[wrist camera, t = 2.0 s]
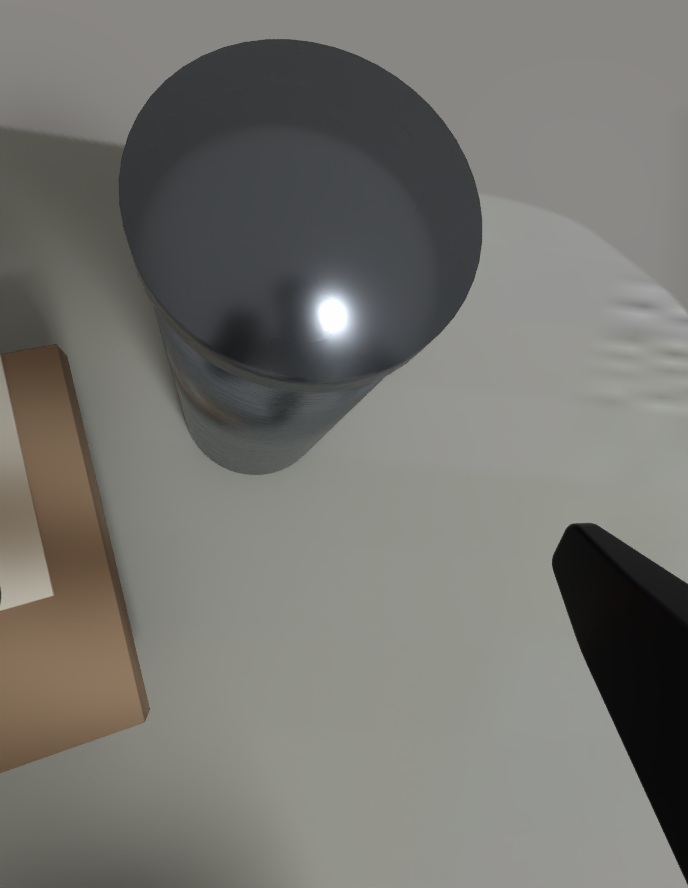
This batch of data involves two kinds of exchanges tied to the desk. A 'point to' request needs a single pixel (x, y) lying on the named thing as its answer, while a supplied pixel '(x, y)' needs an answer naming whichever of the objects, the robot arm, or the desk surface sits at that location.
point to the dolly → (56, 575)
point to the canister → (293, 239)
